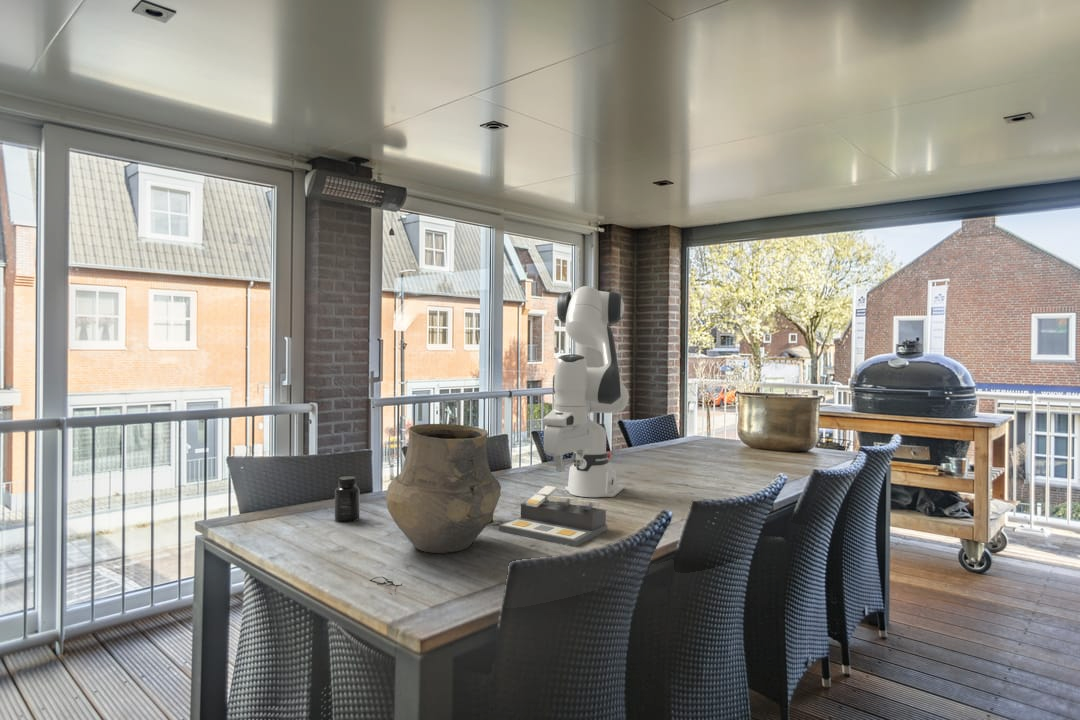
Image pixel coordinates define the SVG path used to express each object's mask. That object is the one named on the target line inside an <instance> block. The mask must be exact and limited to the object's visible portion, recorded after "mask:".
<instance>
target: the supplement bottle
mask: <svg viewBox="0 0 1080 720" xmlns="http://www.w3.org/2000/svg"><path fill="white" fill-rule="evenodd" d="M337 484H338V487H336V488H335V490H334V520H335V521H336V522H338V521H339V522H340V523H350V522H349V521H352V522H355V521H354V520H356V521H357V519H358V520H359V519H360V500H361V499H360V496H361V495H360V494H361V493H360V492H361V491H360V488H359V487H358V486H357V477H356V476H349V475H348V476H341V477H338V483H337ZM339 522H338V523H339Z"/></svg>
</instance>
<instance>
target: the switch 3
mask: <svg viewBox="0 0 1080 720" xmlns="http://www.w3.org/2000/svg"><path fill="white" fill-rule="evenodd" d="M570 504H573V505H577V508H578V509H584V510H592V508H594V507H600V506H601V502H600V501H594V500H589V499H588V500H584V499H578V500H570Z"/></svg>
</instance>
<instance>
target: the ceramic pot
mask: <svg viewBox="0 0 1080 720" xmlns="http://www.w3.org/2000/svg"><path fill="white" fill-rule="evenodd" d="M488 437H489V433H488V430H486V429H483V428H479V427H475V426H470V425H464V424H463V425H462V424H452V423H423V424H416V425H411V426H410V427H408V443H407V447H406V449H407V450H406V452H405V457H404V462H403V465H402V469H401V472H400V473H399V474H397V475H396V476H394V477H393V479H392V480H391V481H390V483H389V484H388V486H387V490H386V493H385V503H386V506H387V510H388V512H389V514H390V516H391V518H392V520H393V521H394V523H395V524H396V525H397V527H398V528H399V530H401V532H402V533H403V534H404V535H405V537H406V538H407V540H408V541H409V542H410V543H411V544H412V545H413V547H414V548H416V549H417V550H418V551H420V550H421V552H422V551H425V552H424V553H427V552H432V553H431V554H447V553H446V552H450V553H455V552H454V551H457V552H461V551H463V549H464V550H465V548H466V549H468V548H469V547H470V546H471V545H472V543H473V542H474V541H475V540H476V539H477V538H478V536H479V535H480V534H481V533H482V532H483V530H485V528H486V527H487V526H489V525H488V524H489V523H490V521H491V519H492V516H493V517H494V513H495V510H496V508H497V505H498V503H499V500H500V497H501V489H502V487H501V484H500V482H499V480H498V479H497V478H496V476H494V475H493V474H492V471H491V467H490V466H489V465H490V464H489V461H488V456H487V440H488ZM460 550H461V551H460Z"/></svg>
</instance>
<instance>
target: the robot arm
mask: <svg viewBox="0 0 1080 720" xmlns="http://www.w3.org/2000/svg"><path fill="white" fill-rule="evenodd" d="M557 297H558V298H557V301H556V304H555V313H556V316H557V319H558V320H559V321H560V322H561V323H563V324H565V330H566V333H567V335H568V336H569V338H570V339H572V340H573V341H574V342H575V353H574V354H568V353H567V354H563V355H560V356H558V357H557V359H556V364H555V368H554V370H555V371H554V374H553V376H552V393H553V400H554V401H553V409H551V411H549V412H548V414H546V415H544V416H543V420H542V421H543V425H545V426H544V431H543V450H544V453H545V455H547V456H551V457H553V462H554V464H555V472H558V473H563V472H565V466H566V464H564V462H563V459H564V455H568V454H571V453H572V463H573V464H572V465H570V467H569V473H568V484H567V486H565V488H564V490H565V491H567V492H568V494H569V495H572V496H575V497H581V498H582V497H583V498H584V497H585V498H602V497H604V498H605V497H606V498H607V497H608V498H614V497H616V496H617V495H618V494H619V493H620V492H621V491H622V490H624V485H621V484H618V479H617V477H618V474H617V472H616V470H614V469H613V467H612V466H611V465H610V464H609V462H610V461H609V459H611V458H612V452H611V451H610V452H608V451H607V432H606V429H605V428H604V426H602V425H601V424H599V423H598V422H595V421H593V420H592V419H591V418H590V417H589V414H590V413H594V414H595V413H596V414H597V413H598V414H612V413H613V414H614V413H618V412H622V411H624V410H625V409H626V407H627V406H628V403H629V398H630V396H629V395H630V394H629V391H628V389H627V387H626V386H625V384H624V383H623V377H622V375H621V372H620V368H619V361H618V355H617V349H616V343H615V338H614V333H613V330H612V328H611V327H612V326H613V325H615V324H618V322H620V321H621V320H622V317H623V315H624V313H625V303H624V300H623V297H622V295H621V294H620V293H619V292H616V291H609V292H608V291H604V290H603V291H602V290H598V289H597V288H595V287H593V286H590V285H589V286H588V285H583V286H580V287H578V288H577V289H575V291H573V292H572V291H565V292H562V293H561V294H559V296H557ZM608 325H609V326H608Z"/></svg>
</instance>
